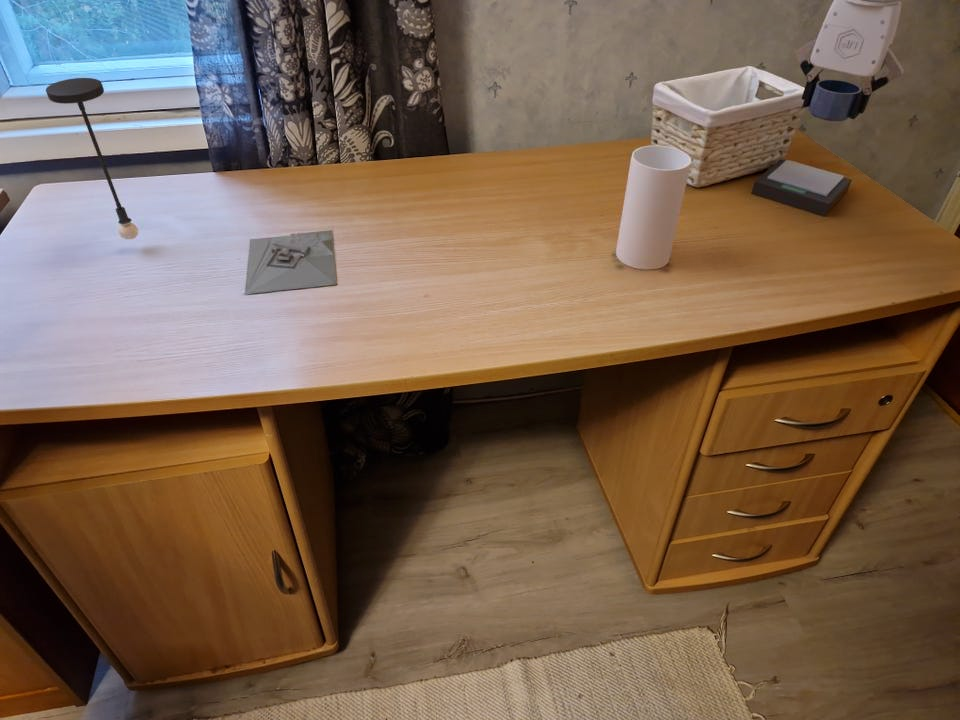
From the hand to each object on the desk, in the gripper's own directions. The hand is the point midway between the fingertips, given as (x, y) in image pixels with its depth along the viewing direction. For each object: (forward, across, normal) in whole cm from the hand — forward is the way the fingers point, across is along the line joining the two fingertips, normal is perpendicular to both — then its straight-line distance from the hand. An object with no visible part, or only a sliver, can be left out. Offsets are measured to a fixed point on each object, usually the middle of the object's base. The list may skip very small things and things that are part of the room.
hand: (830, 109), depth 110 cm
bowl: (+1, 0, 0) cm, 1 cm away
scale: (+15, -1, +1) cm, 16 cm away
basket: (+16, -18, +2) cm, 24 cm away
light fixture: (+16, -73, -85) cm, 113 cm away
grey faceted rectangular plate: (+16, -57, -70) cm, 92 cm away
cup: (+16, -12, -36) cm, 41 cm away
